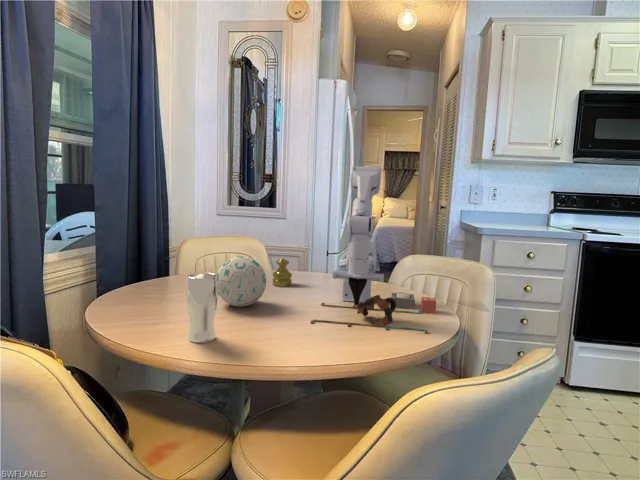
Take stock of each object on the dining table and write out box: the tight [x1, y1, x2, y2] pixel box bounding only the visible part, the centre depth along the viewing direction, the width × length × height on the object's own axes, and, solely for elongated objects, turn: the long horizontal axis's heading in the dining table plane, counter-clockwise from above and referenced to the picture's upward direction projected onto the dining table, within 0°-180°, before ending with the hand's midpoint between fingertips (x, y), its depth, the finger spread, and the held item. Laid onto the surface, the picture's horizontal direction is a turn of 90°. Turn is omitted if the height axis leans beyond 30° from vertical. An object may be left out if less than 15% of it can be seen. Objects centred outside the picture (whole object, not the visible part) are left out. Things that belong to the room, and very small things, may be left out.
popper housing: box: [391, 292, 416, 310], centre depth 131 cm, size 7×7×3 cm
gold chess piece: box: [271, 258, 293, 288], centre depth 153 cm, size 7×7×10 cm
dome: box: [395, 291, 411, 298], centre depth 131 cm, size 4×4×3 cm
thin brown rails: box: [310, 302, 429, 335], centre depth 117 cm, size 31×21×1 cm
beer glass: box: [185, 272, 219, 344], centre depth 95 cm, size 7×7×15 cm
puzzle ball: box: [216, 255, 267, 308], centre depth 123 cm, size 15×15×15 cm
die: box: [420, 296, 437, 315], centre depth 125 cm, size 4×4×4 cm
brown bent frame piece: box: [356, 294, 397, 326], centre depth 114 cm, size 12×10×8 cm
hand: (356, 304), depth 117 cm, fingers closed
